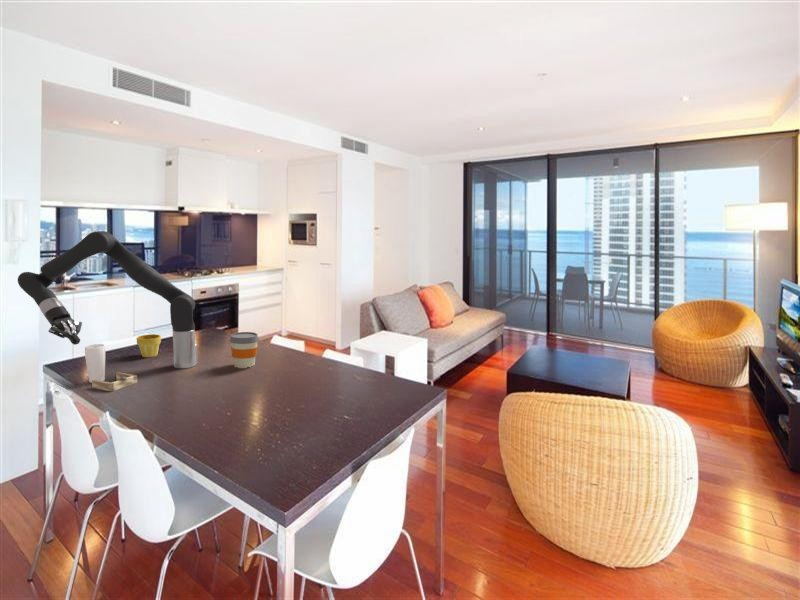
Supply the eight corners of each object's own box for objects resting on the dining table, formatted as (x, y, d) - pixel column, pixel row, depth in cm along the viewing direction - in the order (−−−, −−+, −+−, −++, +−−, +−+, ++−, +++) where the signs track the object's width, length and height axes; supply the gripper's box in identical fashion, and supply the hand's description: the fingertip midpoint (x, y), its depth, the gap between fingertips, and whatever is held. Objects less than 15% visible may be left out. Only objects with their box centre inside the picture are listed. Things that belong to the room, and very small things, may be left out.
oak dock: (119, 378, 181) (118, 370, 181) (138, 382, 178) (137, 373, 178) (92, 387, 171) (91, 378, 170) (112, 391, 168) (111, 382, 167)
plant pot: (144, 359, 208) (143, 340, 207) (133, 355, 214) (132, 336, 212) (165, 355, 217) (164, 336, 215) (154, 351, 222) (153, 333, 221)
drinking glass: (96, 385, 174) (94, 348, 171) (82, 383, 175) (80, 347, 173) (111, 379, 180) (108, 344, 178) (97, 378, 181) (95, 343, 179)
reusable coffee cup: (258, 360, 214) (258, 331, 212) (258, 368, 202) (258, 337, 200) (231, 362, 210) (230, 332, 208) (229, 370, 198) (229, 338, 196)
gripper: (41, 307, 173) (64, 341, 171) (74, 303, 186) (97, 334, 184) (33, 319, 176) (56, 352, 174) (66, 314, 188) (88, 345, 186)
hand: (77, 343), depth 179 cm, fingers closed
